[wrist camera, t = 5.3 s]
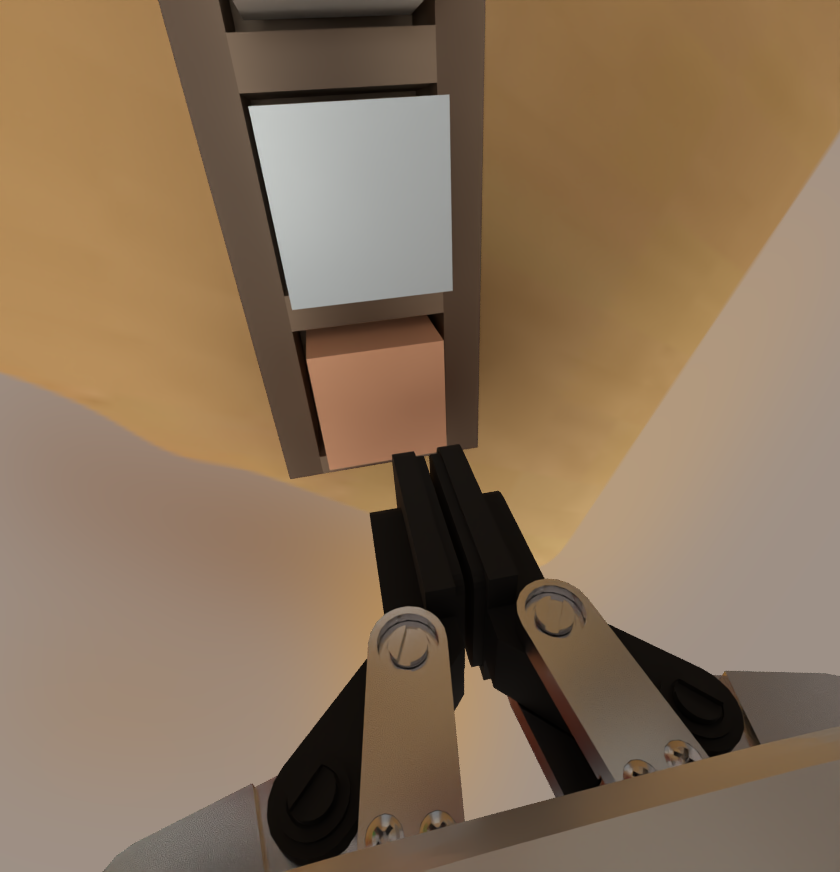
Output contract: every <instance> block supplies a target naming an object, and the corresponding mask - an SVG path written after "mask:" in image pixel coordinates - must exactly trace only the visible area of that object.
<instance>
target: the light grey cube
mask: <svg viewBox="0 0 840 872" xmlns="http://www.w3.org/2000/svg"><path fill="white" fill-rule="evenodd" d="M248 108H249V112H250V117H251V122H252V126H253V131H254V135H255V140H256V145H257V149H258V154H259V159H260V163H261V168H262V173H263V177H264V182H265V186H266V191H267V196H268V200H269V205H270V210H271V214H272V219H273V224H274V228H275V233H276V237H277V242H278V247H279V251H280V256H281V261H282V265H283V270H284V275H285V279H286V284H287V288H288V293H289V298H290V302H291V307H292V310H297V309H305V308H313V307H322V306H330V305H338V304H347V303H355V302H363V301H372V300H380V299H388V298H397V297H405V296H413V295H421V294H430V293H438V292H446V291H453V281H452V220H451V159H450V98H449V95H433V96H416V97H399V98H382V99H365V100H348V101H331V102H314V103H297V104H280V105H263V106H248Z"/></svg>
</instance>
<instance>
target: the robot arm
mask: <svg viewBox="0 0 840 872" xmlns="http://www.w3.org/2000/svg"><path fill="white" fill-rule="evenodd" d="M429 461H430V473H429V470H428V467H427V464H426V461H425V458H424V456H417V457H416V455H415V452H414V451H410V452H404V453H398V454H392V463H393V472H394V481H395V490H396V499H397V508H395V509H390V510H384V511H378V512H372V513H370V519H371V526H372V533H373V540H374V547H375V553H376V561H377V568H378V575H379V582H380V589H381V596H382V602H383V610H384V616H383V617H382V618H381V619H379V620H378V621H377V622H376V624H375V626H374V627H373V629H372V631H371V633H370V638H369V642H368V656H367V659H366V660H365V662H364V663H363V665H362V666H361V667H360V668H359V669H358V671H357V672H356V673H355V675H354V676H353V677H352V678H351V680H350V681H349V682H348V684H347V685H346V686H345V688H344V689H343V690H342V691H341V693H340V694H339V696H338V697H337V698H336V699H335V700H334V702H333V703H332V704H331V706H330V707H329V708H328V710H327V711H326V712H325V713H324V715H323V716H322V717H321V718H320V720H319V721H318V722H317V724H316V725H315V726H314V727H313V729H312V730H311V731H310V733H309V734H308V735H307V737H306V738H305V739H304V740H303V742H302V743H301V744H300V746H299V747H298V748H297V749H296V751H295V752H294V753H293V755H292V756H291V757H290V758H289V760H288V761H287V762H286V764H285V765H284V766H283V768H282V769H281V771H280V773H279V774H278V776H276V777H274V778H272V779H270V780H268V781H266V782H264V783H262V784H260V785H258V786H256V787H254V785H253V784H250V785H248V786H246V787H244V788H242V789H240V790H238V791H236V792H234V793H232V794H230V795H228V796H226V797H225V798H222V799H220V800H219V801H216V802H215V803H213V804H211V805H209V806H207V807H205V808H203V809H201V810H199V811H197V812H195V813H193V814H191V815H189V816H187V817H185V818H183V819H181V820H179V821H177V822H175V823H173V824H171V825H169V826H167V827H165V828H163V829H161V830H159V831H158V832H156V833H153V834H152V835H150V836H148V837H146V838H144V839H142V840H140V841H138V842H136V843H134V844H132V845H131V846H130V847H128V848H127V849H126V850H124V851H123V852H121V853H120V854H118V855H117V856H116V857H115V858H114V859H113V860H112V862H111V863H110V864H109V865H108V866H107V868H106V869H105V870H104V871H103V872H840V676H836V675H831V674H825V673H789V672H788V673H787V672H750V671H724V673H723V675H722V676H721V675H712V674H710V673H708V672H707V671H705V670H703V669H702V668H700V667H697V666H695V665H693V664H691V663H689V662H687V661H685V660H683V659H681V658H679V657H676V656H674V655H672V654H670V653H668V652H666V651H664V650H662V649H660V648H657V647H655V646H653V645H651V644H649V643H647V642H645V641H643V640H641V639H638V638H636V637H634V636H632V635H630V634H628V633H626V632H624V631H622V630H619V629H618V628H615V627H613V626H611V625H609V624H607V623H606V621H605V620H604V619H603V618H602V616H601V615H600V614H599V612H598V611H597V610H596V608H595V607H594V606H593V604H592V603H591V602H590V601H589V599H588V598H587V597H586V596H585V595H584V594H583V593H582V592H581V591H580V590H579V589H577V588H576V587H574V586H572V585H571V584H569V583H566V582H563V581H560V580H557V579H544V577H543V575H542V573H541V571H540V569H539V567H538V565H537V563H536V561H535V559H534V557H533V555H532V553H531V551H530V549H529V547H528V545H527V543H526V541H525V539H524V537H523V535H522V533H521V531H520V529H519V527H518V525H517V523H516V521H515V519H514V517H513V515H512V513H511V511H510V509H509V507H508V505H507V503H506V501H505V499H504V497H503V495H502V494H501V493H500V492H499V491H494V492H488V493H483V494H482V492H481V490H480V488H479V485H478V483H477V481H476V479H475V477H474V474H473V472H472V470H471V468H470V465H469V463H468V461H467V459H466V457H465V454H464V452H463V450H462V448H461V446H460V444H455V445H449V446H442V447H437V453H435V454H430V456H429ZM465 649H466V652H467V656H468V659H469V662H470V665H471V667H475V666H480V670H481V673H482V676H483V680H487V679H491V680H492V683H493V687H494V688H495V689H497V690H499V691H500V692H502V693H504V694H505V695H507V696H508V699H509V702H510V705H511V708H512V710H513V712H514V714H515V716H516V718H517V720H518V722H519V724H520V726H521V728H522V730H523V732H524V734H525V736H526V738H527V740H528V742H529V744H530V746H531V748H532V751H533V753H534V754H535V757H536V759H537V761H538V763H539V765H540V767H541V769H542V771H543V773H544V775H545V777H546V779H547V781H548V783H549V785H550V787H551V789H552V791H553V793H554V795H555V797H556V798H553V799H549V800H546V801H541V802H537V803H534V804H530V805H526V806H522V807H518V808H515V809H511V810H507V811H504V812H499V813H496V814H492V815H488V816H484V817H481V818H477V819H474V820H469V821H466V822H465V820H464V810H463V799H462V788H461V778H460V767H459V757H458V746H457V736H456V726H455V714H454V711H455V709H456V707H457V706H458V704H459V702H460V700H461V699H462V697H463V695H464V668H465Z"/></svg>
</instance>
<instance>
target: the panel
mask: <svg viewBox="0 0 840 872" xmlns="http://www.w3.org/2000/svg"><path fill="white" fill-rule="evenodd" d="M158 1H159V5H160V8H161V12H162V16H163V19H164V23H165V27H166V30H167V34H168V37H169V41H170V45H171V48H172V52H173V56H174V59H175V63H176V66H177V70H178V74H179V77H180V81H181V85H182V88H183V92H184V95H185V99H186V103H187V106H188V110H189V114H190V117H191V121H192V124H193V128H194V132H195V135H196V139H197V143H198V146H199V150H200V154H201V157H202V161H203V164H204V168H205V172H206V175H207V179H208V183H209V186H210V190H211V193H212V197H213V201H214V204H215V208H216V212H217V215H218V219H219V222H220V226H221V230H222V233H223V237H224V241H225V244H226V248H227V251H228V255H229V259H230V262H231V266H232V270H233V273H234V277H235V280H236V284H237V288H238V291H239V295H240V299H241V302H242V306H243V309H244V313H245V317H246V320H247V324H248V328H249V331H250V335H251V339H252V342H253V346H254V349H255V353H256V357H257V360H258V364H259V368H260V371H261V375H262V378H263V382H264V386H265V389H266V393H267V397H268V400H269V404H270V407H271V411H272V415H273V418H274V422H275V426H276V429H277V433H278V436H279V440H280V444H281V447H282V451H283V455H284V458H285V462H286V465H287V469H288V473H289V476H290V479H294V478H300V477H306V476H312V475H318V474H323V473H329V472H335V471H341V470H347V469H353V468H359V467H365V466H370V465H376V464H382V463H388V462H392V460H388V461H382V462H376V463H371V464H365V465H359V466H353V467H347V468H341V469H335V470H330V469H329V464H328V460H327V455H326V450H325V445H324V441H323V436H322V431H321V426H320V422H319V417H318V412H317V407H316V403H315V398H314V393H313V388H312V384H311V379H310V374H309V369H308V365H307V360H306V330H310V329H318V328H325V327H333V326H341V325H349V324H357V323H365V322H373V321H381V320H389V319H397V318H404V317H412V316H420V315H427V316H428V318H429V319H430V321H431V322H432V324H433V325H434V327H435V328H436V330H437V331H438V333H439V334H440V336H441V337H442V339H443V340H444V369H445V404H446V438H447V446H449V445H455V444H460V446H461V448H462V450H464V449H470V448H476V447H478V399H479V340H480V282H481V223H482V165H483V107H484V48H485V0H424V1H423V2H422V3H421V4H420V5H419V6H418V7H417V8H416V9H415V11H414V12H413V13H412V14H411V15H385V16H355V17H325V18H296V19H266V20H243V19H242V17H241V15H240V13H239V11H238V9H237V8H236V6H235V4H234V2H233V0H158ZM433 95H449V98H450V159H451V220H452V281H453V291H446V292H438V293H430V294H421V295H413V296H405V297H397V298H388V299H380V300H372V301H363V302H355V303H347V304H338V305H330V306H322V307H313V308H305V309H297V310H292V307H291V302H290V298H289V293H288V288H287V284H286V279H285V275H284V270H283V265H282V261H281V256H280V251H279V247H278V242H277V237H276V233H275V228H274V224H273V219H272V214H271V210H270V205H269V200H268V196H267V191H266V186H265V182H264V177H263V173H262V168H261V163H260V159H259V154H258V149H257V145H256V140H255V135H254V131H253V126H252V122H251V117H250V112H249V108H248V106H263V105H280V104H297V103H314V102H331V101H348V100H365V99H382V98H399V97H416V96H433ZM435 453H437V452H435ZM435 453H429V454H424V455H418V456H429V455H430V454H435ZM416 457H417V456H416Z"/></svg>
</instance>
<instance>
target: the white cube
mask: <svg viewBox="0 0 840 872" xmlns="http://www.w3.org/2000/svg"><path fill="white" fill-rule="evenodd" d="M423 1H424V0H233V2H234V4H235V6H236V8H237V9H238V11H239V13H240V15H241V17H242V19H243V20H266V19H296V18H325V17H355V16H385V15H411V14H412V13H413V12H414V11H415V9H416V8H417V7H418V6H419V5H420V4H421V3H422V2H423Z"/></svg>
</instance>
